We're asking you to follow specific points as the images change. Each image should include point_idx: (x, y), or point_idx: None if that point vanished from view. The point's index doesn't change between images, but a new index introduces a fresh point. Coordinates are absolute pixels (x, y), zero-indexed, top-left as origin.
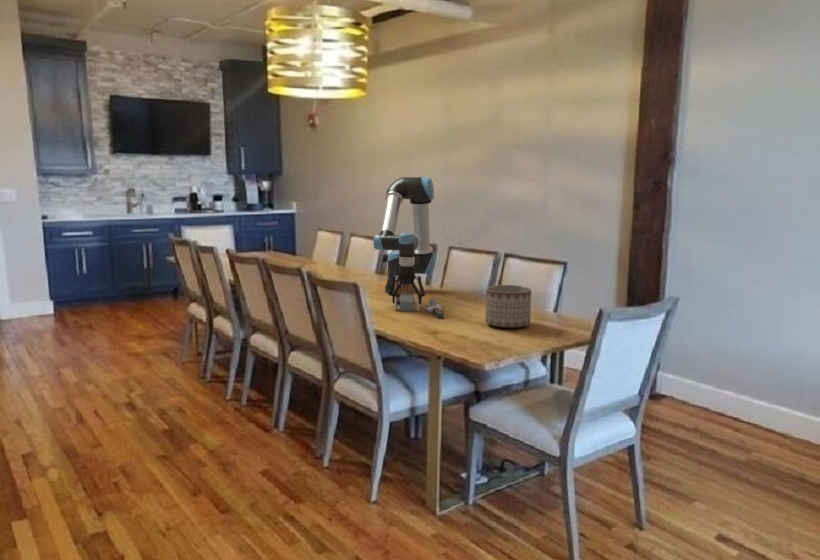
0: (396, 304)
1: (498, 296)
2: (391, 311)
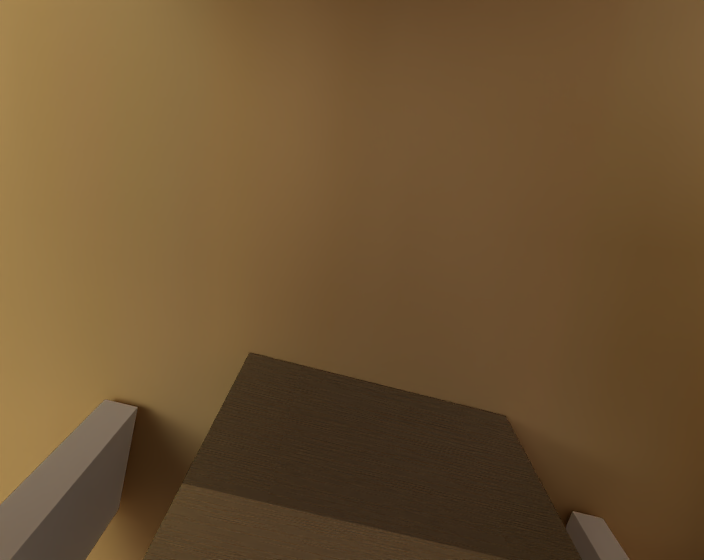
0: (71, 546)
1: None
2: None
